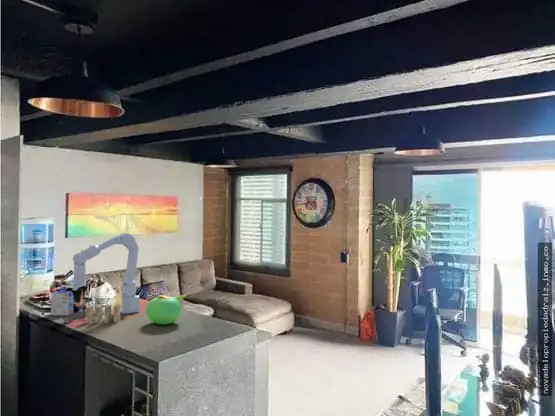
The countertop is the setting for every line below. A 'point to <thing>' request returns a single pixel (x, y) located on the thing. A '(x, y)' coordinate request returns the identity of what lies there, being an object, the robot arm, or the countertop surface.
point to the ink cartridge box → (62, 302)
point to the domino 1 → (80, 300)
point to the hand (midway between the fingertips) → (79, 301)
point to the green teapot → (164, 309)
